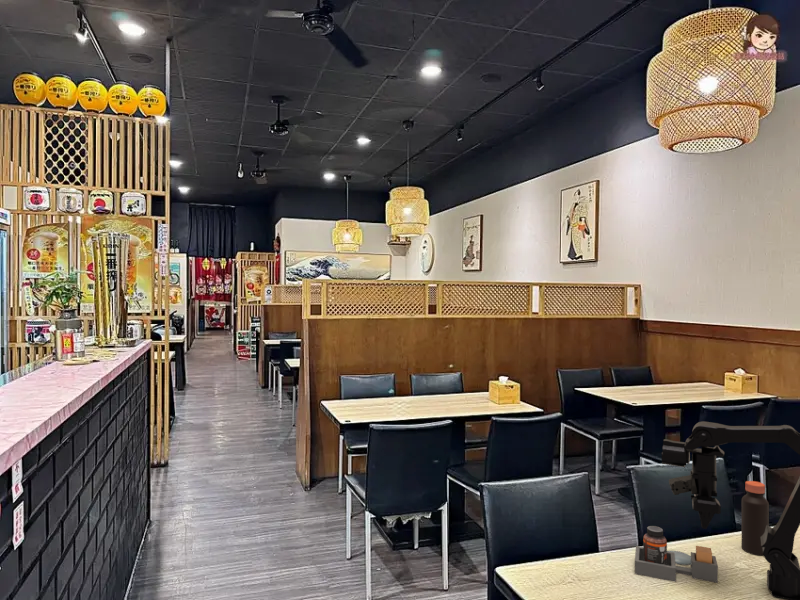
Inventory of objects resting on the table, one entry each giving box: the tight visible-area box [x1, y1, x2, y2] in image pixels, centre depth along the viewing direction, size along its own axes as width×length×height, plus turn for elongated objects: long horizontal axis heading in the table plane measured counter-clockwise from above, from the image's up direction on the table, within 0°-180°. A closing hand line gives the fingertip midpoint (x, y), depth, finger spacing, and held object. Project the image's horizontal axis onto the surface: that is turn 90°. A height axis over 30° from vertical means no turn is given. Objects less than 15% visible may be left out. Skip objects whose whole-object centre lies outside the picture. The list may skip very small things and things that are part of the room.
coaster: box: [667, 550, 691, 566], centre depth 159 cm, size 8×8×1 cm
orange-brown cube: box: [695, 545, 713, 563], centre depth 149 cm, size 4×4×4 cm
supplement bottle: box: [642, 525, 668, 565], centre depth 153 cm, size 6×6×11 cm
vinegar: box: [740, 480, 770, 557], centre depth 164 cm, size 7×7×20 cm
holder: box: [634, 545, 719, 584], centre depth 150 cm, size 20×10×4 cm, turn 65°
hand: (703, 527), depth 149 cm, fingers closed
